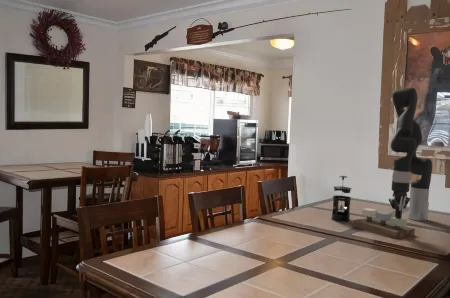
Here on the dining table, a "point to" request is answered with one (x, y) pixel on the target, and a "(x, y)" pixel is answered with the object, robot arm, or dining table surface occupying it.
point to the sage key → (398, 222)
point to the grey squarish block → (383, 217)
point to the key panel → (383, 228)
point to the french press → (341, 215)
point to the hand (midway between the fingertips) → (398, 218)
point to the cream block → (369, 213)
